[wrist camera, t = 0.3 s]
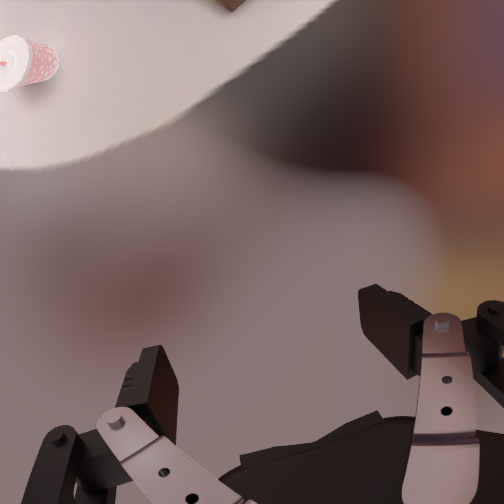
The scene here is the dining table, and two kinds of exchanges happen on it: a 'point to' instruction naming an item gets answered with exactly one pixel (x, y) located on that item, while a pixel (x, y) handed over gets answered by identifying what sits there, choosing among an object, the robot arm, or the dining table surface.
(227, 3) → the walnut riser block
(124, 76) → the dining table surface
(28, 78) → the beverage cup
